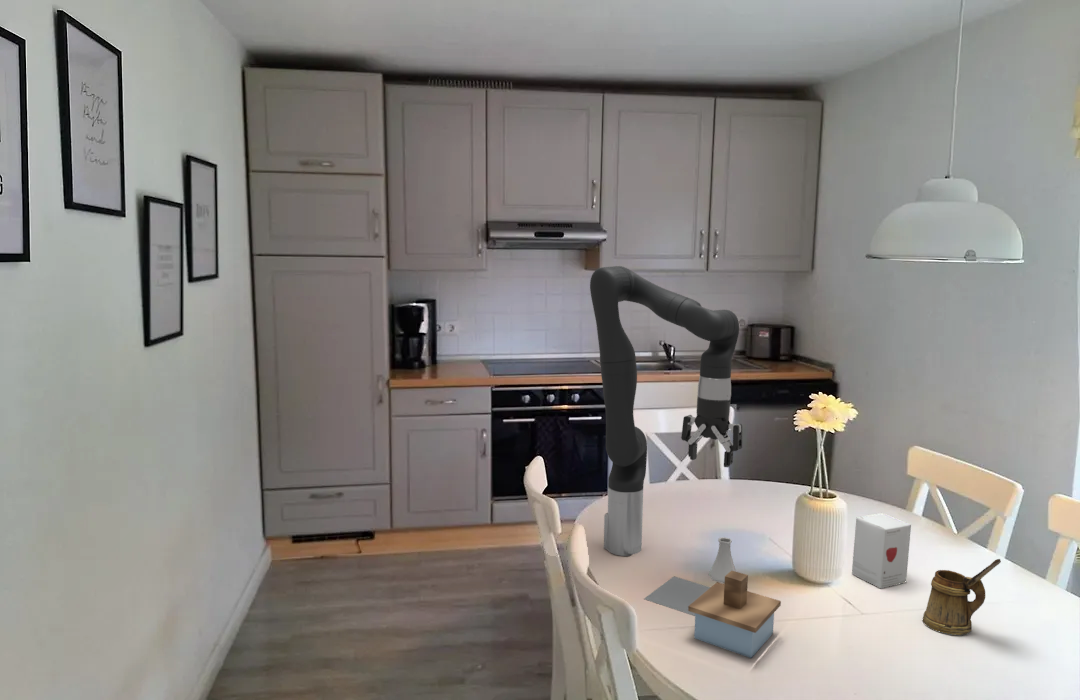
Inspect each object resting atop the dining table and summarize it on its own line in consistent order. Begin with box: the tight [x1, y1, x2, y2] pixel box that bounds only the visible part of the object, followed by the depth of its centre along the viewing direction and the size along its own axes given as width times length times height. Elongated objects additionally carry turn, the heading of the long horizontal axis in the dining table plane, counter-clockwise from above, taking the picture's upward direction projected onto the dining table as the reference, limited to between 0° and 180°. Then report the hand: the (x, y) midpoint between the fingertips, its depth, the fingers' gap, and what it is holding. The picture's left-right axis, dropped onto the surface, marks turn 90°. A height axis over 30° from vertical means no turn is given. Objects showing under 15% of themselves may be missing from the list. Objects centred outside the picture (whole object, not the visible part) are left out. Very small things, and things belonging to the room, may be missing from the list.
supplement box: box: [851, 512, 912, 589], centre depth 176 cm, size 9×9×15 cm
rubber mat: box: [643, 575, 711, 617], centre depth 166 cm, size 15×15×1 cm
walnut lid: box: [688, 571, 782, 633], centre depth 148 cm, size 14×14×7 cm
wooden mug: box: [922, 558, 1001, 636], centre depth 152 cm, size 9×14×18 cm, turn 38°
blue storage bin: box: [693, 612, 775, 659], centre depth 148 cm, size 12×12×6 cm
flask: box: [708, 536, 737, 584], centre depth 176 cm, size 7×7×10 cm
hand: (709, 462), depth 171 cm, fingers open, 8 cm apart
